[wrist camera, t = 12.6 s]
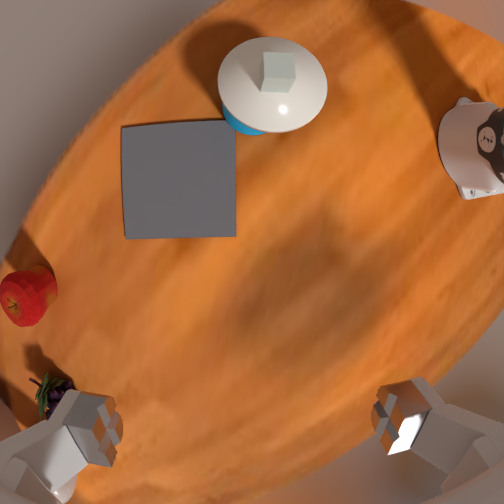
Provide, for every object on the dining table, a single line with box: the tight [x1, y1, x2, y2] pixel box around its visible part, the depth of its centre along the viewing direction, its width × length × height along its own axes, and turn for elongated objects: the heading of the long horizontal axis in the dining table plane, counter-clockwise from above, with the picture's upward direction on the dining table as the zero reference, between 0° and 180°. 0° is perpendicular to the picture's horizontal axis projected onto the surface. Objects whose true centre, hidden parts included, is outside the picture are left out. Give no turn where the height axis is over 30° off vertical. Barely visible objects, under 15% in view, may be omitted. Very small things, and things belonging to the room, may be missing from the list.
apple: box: [0, 265, 57, 327], centre depth 36 cm, size 9×8×12 cm
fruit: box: [29, 372, 74, 421], centre depth 44 cm, size 10×11×15 cm
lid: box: [218, 37, 327, 133], centre depth 27 cm, size 12×12×5 cm
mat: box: [122, 120, 236, 239], centre depth 39 cm, size 16×16×1 cm
